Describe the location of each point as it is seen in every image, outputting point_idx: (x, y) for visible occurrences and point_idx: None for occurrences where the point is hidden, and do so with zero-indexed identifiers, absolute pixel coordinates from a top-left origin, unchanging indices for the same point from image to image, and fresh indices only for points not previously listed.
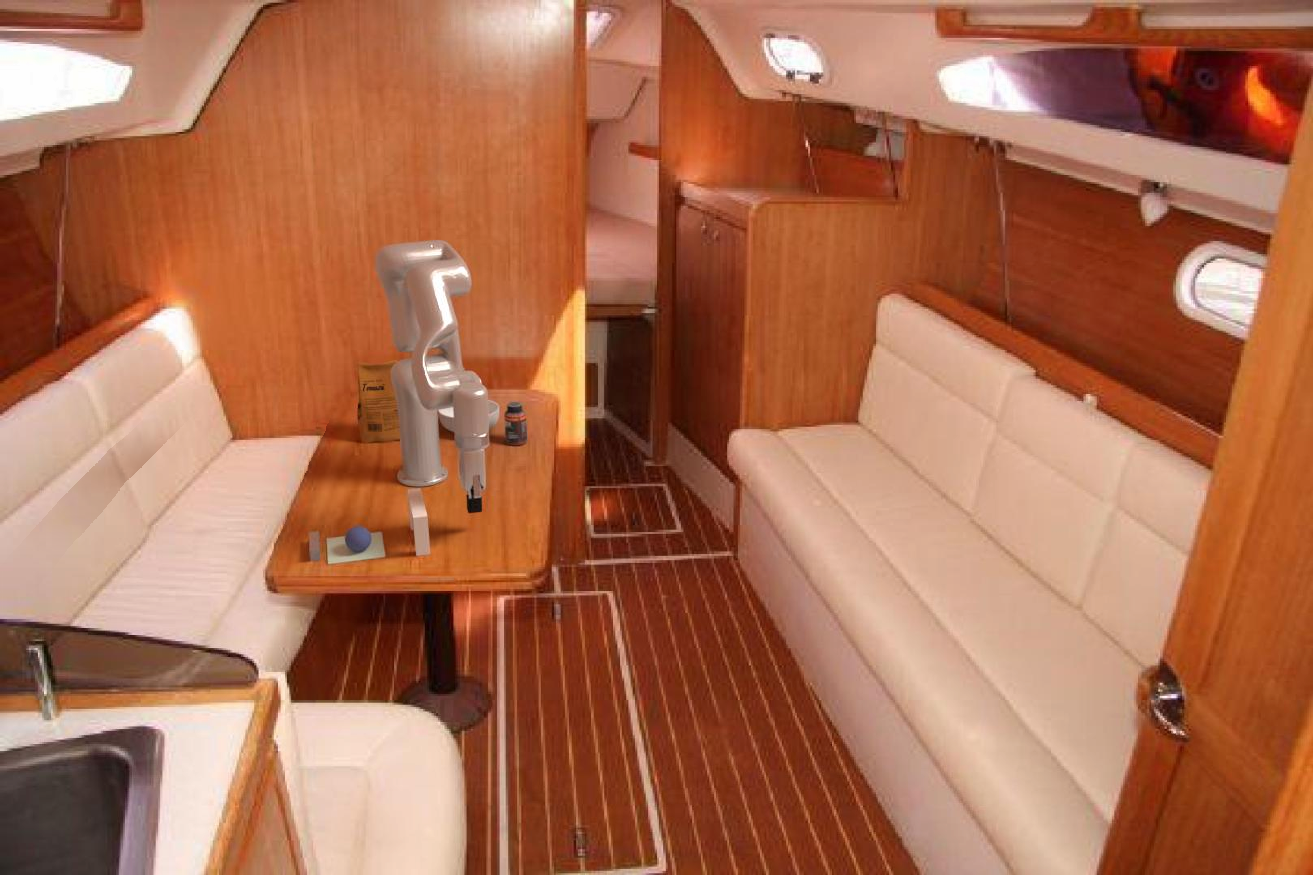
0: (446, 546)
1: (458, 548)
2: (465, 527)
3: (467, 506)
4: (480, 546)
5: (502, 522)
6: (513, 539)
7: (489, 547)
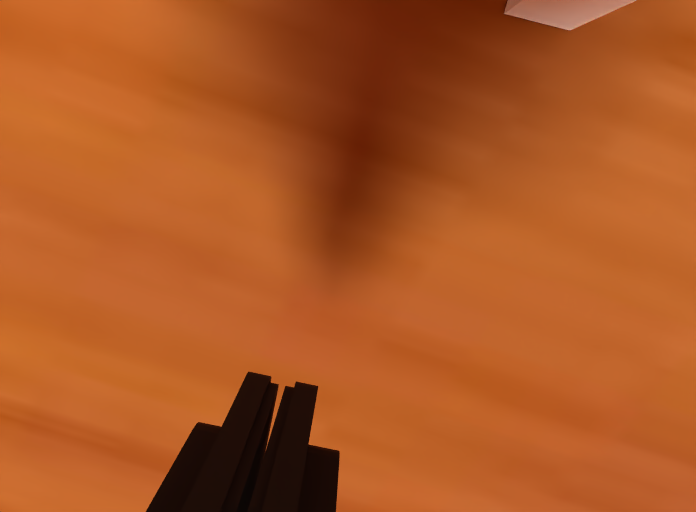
0: (136, 72)
1: (73, 144)
2: (363, 294)
3: (258, 410)
4: (51, 289)
5: None
6: (77, 485)
7: (18, 334)
